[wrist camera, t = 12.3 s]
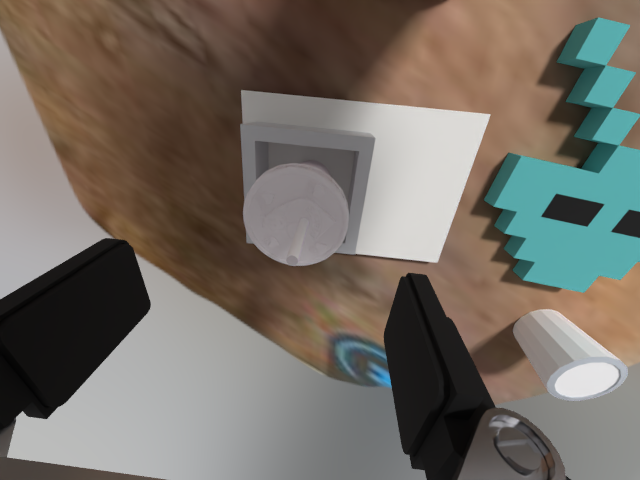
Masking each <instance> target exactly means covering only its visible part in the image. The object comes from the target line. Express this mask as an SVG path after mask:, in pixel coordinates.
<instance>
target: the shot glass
mask: <svg viewBox="0 0 640 480" xmlns="http://www.w3.org/2000/svg"><path fill="white" fill-rule="evenodd" d="M513 334H514V337H515V338H516V340H517V341H518V343H519V345H520V346H521V348H522V350H523V351H524V353H525V355H526V356H527V358H528V359H529V361H530V363H531V364H532V366H533V368H534V369H535V371H536V372H537V374H538V376H539V377H540V379H541V381H542V382H543V384H544V385H545V387H546V389H547V390H548V392H549V393H550V394H552V395H553V396H555V397H556V398H560V399H563V400H568V401H569V400H570V401H573V400H574V401H579V400H580V401H582V400H587V399H592V398H597V397H599V396H602V395H604V394H607V393H609V392H611V391H613V390H614V389H616V388H617V387H618V386H620V385H621V384H622V383H623V381H624V380H625V379H626V377H627V375H628V372H627V366H626V365H625V364H624V363H623V362H621V361H620V360H619V359H618V358H617V357H615V356H614V355H613V354H612V353H610V352H609V351H608V350H606V349H605V348H604V347H603V346H601V345H600V344H599V343H597V342H596V341H595V340H594V339H592V338H591V337H590V336H589V335H587V334H586V333H585V332H583V331H582V330H581V329H580V328H578V327H577V326H576V325H574V324H573V323H572V322H571V321H569V320H568V319H567V318H566V317H564V316H563V315H562V314H560V313H559V312H558V311H554V310H551V309H542V310H536V311H533V312H529V313H528V314H526V315H524V316H522V317H521V318H520V319H519V320H518V321H517V322H516V323H515V324H514V328H513Z"/></svg>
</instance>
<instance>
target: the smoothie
mask: <svg viewBox="0 0 640 480" xmlns="http://www.w3.org/2000/svg"><path fill="white" fill-rule="evenodd" d="M243 219H244V224H245V228H246V231H247V233H248V235H249V237H250V239H251V240H252V242H253V243H254V244H255V245H256V247H257V248H258V249H259V250H260V251H262V252H263V253H264V254H265V255H267V256H268V257H270V258H272V259H273V260H276V261H278V262H280V263H284V264H288V265H290V266H305V265H311V264H315V263H318V262H321V261H323V260H325V259H327V258H328V257H330V256H331V255H332V254H333V253H334V252H336V251H337V249H338V248H339V247H340V246H341V244H342V242H343V241H344V239H345V236H346V233H347V230H348V222H349V210H348V202H347V200H346V198H345V195H344V193H343V191H342V189H341V188H340V187H339V185H338V184H337V183H336V181H335V180H334V179H333V178H332V177H331V175H330V172H329V170H328V169H327V167H326V166H325V165H323V164H322V163H320V162H318V161H315V160H307V161H304V162H301V163H299V164H298V163H289V164H283V165H278V166H276V167H274V168H272V169H270V170H267V171H266V172H265V173H263V174H262V175H261V176H260V177H259V178H258V179H257V180H256V181H255V183H254V184H253V185H252V187H251V188H250V190H249V192H248V193H247V196H246V198H245V201H244V206H243Z"/></svg>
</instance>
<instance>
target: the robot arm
mask: <svg viewBox="0 0 640 480" xmlns="http://www.w3.org/2000/svg"><path fill="white" fill-rule="evenodd" d="M150 305H151V304H150V300H149V296H148V293H147V290H146V287H145V284H144V281H143V278H142V275H141V272H140V268H139V265H138V262H137V259H136V256H135V253H134V250H133V248H132V246H130V245H129V243H128V242H127V241H125V240H119V239H110V238H105V239H103V240H101V241H99V242H97V243H96V244H94V245H92V246H91V247H89V248H87V249H85V250H84V251H82V252H80V253H79V254H77V255H75V256H73V257H72V258H70V259H68V260H67V261H65V262H63V263H62V264H60V265H58V266H56V267H55V268H53V269H51V270H50V271H48V272H46V273H45V274H43V275H41V276H39V277H38V278H36V279H34V280H33V281H31V282H30V283H28V284H26V285H24V286H22V287H21V288H19V289H17V290H16V291H14V292H12V293H10V294H9V295H7V296H6V297H4V298H2V299H0V480H165V479H158V478H151V477H144V476H137V475H129V474H122V473H115V472H108V471H101V470H94V469H86V468H79V467H72V466H65V465H57V464H51V463H43V462H35V461H28V460H21V459H13V458H7V454H8V450H9V446H10V442H11V438H12V434H13V430H14V426H15V422H16V416H18V415H19V414H20V413H21V412H22V411H23V412H24V413H25V414H26V415H27V416H28V417H36V418H43V419H47V418H48V417H49V416H50V415H51V414H52V413H53V412H54V411H55V410H56V408H57V407H59V406H61V405H63V404H64V403H66V402H67V401H68V399H69V398H70V397H71V396H72V395H73V394H74V393H75V392H76V391H77V390H78V389H79V388H80V386H81V385H82V384H83V383H84V382H85V381H86V380H87V379H88V378H89V377H90V375H91V374H92V373H93V372H94V371H95V370H96V369H97V368H98V367H99V366H100V364H101V363H102V362H103V361H104V360H105V359H106V358H107V357H108V356H109V355H110V353H111V352H112V351H113V350H114V349H115V348H116V347H117V346H118V345H119V344H120V342H121V341H122V340H123V339H124V338H125V337H126V336H127V335H128V334H129V332H131V330H132V329H133V328H134V327H135V326H136V325H137V324H138V322H140V321H141V319H142V318H143V317H144V316H145V315H146V314H147V313H148V311H149V309H150ZM384 344H385V350H386V356H387V362H388V368H389V374H390V379H391V385H392V391H393V397H394V403H395V409H396V415H397V420H398V427H399V432H400V438H401V444H402V448H403V452H404V453H405V454H408V455H410V460H411V466H412V468H413V469H420V470H425V473H426V478H427V480H571V479H569V478H568V477H567V476H566V475H565V467H564V465H563V462H562V460H561V458H560V455H559V453H558V452H557V450H556V449H555V447H554V446H553V445H552V443H551V441H550V440H549V439H548V438H547V437H546V436H545V435H544V433H543V432H542V431H541V430H540V429H539V428H537V426H535V425H534V424H533V423H532V422H530V421H529V420H528V419H527V418H525V417H523V416H521V415H520V414H518V413H516V412H514V411H511V410H508V409H505V408H496V407H495V405H494V403H493V401H492V399H491V397H490V395H489V393H488V391H487V389H486V387H485V385H484V383H483V381H482V379H481V377H480V375H479V373H478V371H477V368H476V366H475V364H474V362H473V360H472V358H471V356H470V354H469V352H468V350H467V348H466V346H465V344H464V342H463V340H462V338H461V336H460V334H459V332H458V330H457V328H456V326H455V324H454V322H453V321H452V319H450V318H449V317H446V315H445V312H444V310H443V308H442V306H441V304H440V302H439V300H438V298H437V296H436V294H435V291H434V289H433V287H432V285H431V283H430V281H429V279H428V277H427V275H423V274H414V273H408V274H407V275H406V277H403V276H402V277H401V278H400V281H399V285H398V288H397V291H396V295H395V298H394V301H393V305H392V308H391V311H390V315H389V318H388V321H387V324H386V328H385V331H384Z"/></svg>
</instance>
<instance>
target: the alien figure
mask: <svg viewBox="0 0 640 480" xmlns="http://www.w3.org/2000/svg"><path fill="white" fill-rule="evenodd" d="M629 27H630V25H627V24H623V23H619V22H615V21H611V20H606V19H602V18H595V19H593V20H590V21H587V22H584V23H581V24H578V25H576V26H575V28H574V30H573V32H572V34H571V35H570V37H569V39H568V41H567V43H566V45H565V47H564V49H563V51H562V53H561V54H560V56H559V58H558V60H557V63H562V64H566V65H570V66H574V67H579V68H583V69H584V70H583V72H582V74H581V75H580V77H579V79H578V81H577V82H576V84H575V86H574V88H573V89H572V91H571V93H570V95H569V96H568V98H567V100H566V102H569V103H574V104H578V105H582V106H587V107H591V110H590V111H589V113H588V115H587V116H586V118H585V119H584V121H583V123H582V124H581V126H580V127H579V129H578V131H577V132H576V134H575V135H574V137H576V138H580V139H585V140H589V141H594V142H598V144H597V146H596V147H595V149H594V150H593V152H592V153H591V154H590V156H589V157H588V159H587V160H586V162H585V163H584V165H583V166H582V168H581V169H580V168H575V167H571V166H566V165H562V164H557V163H553V162H548V161H544V160H539V159H535V158H530V157H526V156H521V155H517V154H512V153H508V155H507V157H506V159H505V161H504V163H503V165H502V166H501V168H500V170H499V172H498V174H497V176H496V178H495V180H494V182H493V184H492V185H491V187H490V189H489V191H488V193H487V195H486V197H485V199H484V201H486V202H487V203H489V204H490V205H492V206H493V207H498V208H502V209H503V211H502V213H501V214H500V216H499V218H498V220H497V221H496V223H495V225H494V226H495V227H497V228H498V229H499V230H500V231H502V232H503V233H505V234H509V235H512V236H511V238H510V239H509V241H508V243H507V244H506V246H505V247H504V250H505V251H507V252H508V253H509V254H510V255H511V256H512V257H513V258H517V259H520V260H519V261H518V263H517V264H516V266H515V267H514V268H513V271H514V272H515V273H516V274H517V275H518V276H519V277H520V278H521V279H522V280H525V281H530V282H535V283H539V284H544V285H549V286H554V287H559V288H564V289H568V290H573V291H578V292H583V293H584V292H585V291H586V290H587V289H588V288H589V286H590V285H591V284H592V283H593V282H594V281H595V280H596V279H597V277H598V276H603V277H608V278H613V279H618V280H621V279H622V278H623V277H624V275H625V274H626V273H627V272H628V271H629V270H630V269H631V268H632V267H633V266H634V265H635V264H636V263H637V262H640V150H637V149H632V148H628V147H623V146H619V145H620V143H621V142H622V140H623V139H624V138H625V136H626V135H627V133H628V132H629V131H630V129H631V128H632V126H633V125H634V124H635V122H636V121H637V119H638V118H639V117H640V114H637V113H633V112H629V111H624V110H620V109H616V108H613V107H614V105H615V104H616V102H617V101H618V99H619V98H620V96H621V95H622V93H623V92H624V90H625V89H626V87H627V86H628V84H629V83H630V81H631V80H632V78H633V77H634V75H635V74H636V72H631V71H627V70H623V69H619V68H614V67H610V66H606V65H607V63H608V61H609V60H610V58H611V57H612V55H613V53H614V52H615V50H616V48H617V47H618V45H619V43H620V42H621V40H622V38H623V37H624V35H625V33H626V32H627V30H628V29H629Z"/></svg>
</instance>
